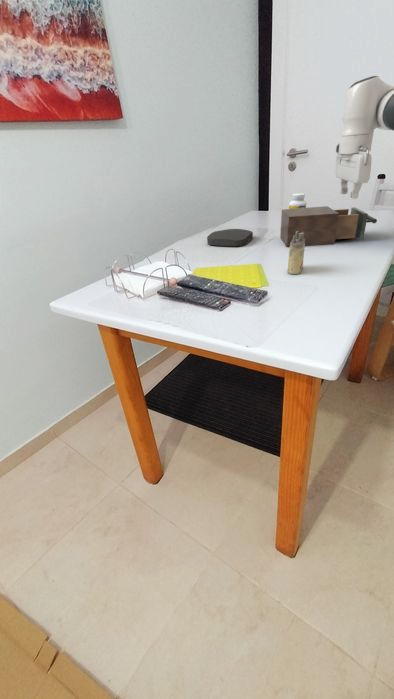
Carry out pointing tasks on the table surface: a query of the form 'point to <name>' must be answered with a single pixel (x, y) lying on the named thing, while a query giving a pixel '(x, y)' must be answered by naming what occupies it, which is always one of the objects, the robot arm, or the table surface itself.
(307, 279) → the table surface
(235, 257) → the table surface
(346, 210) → the drawer
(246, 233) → the media streaming box
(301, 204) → the pill bottle
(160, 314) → the table surface
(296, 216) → the cabinet
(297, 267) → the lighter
